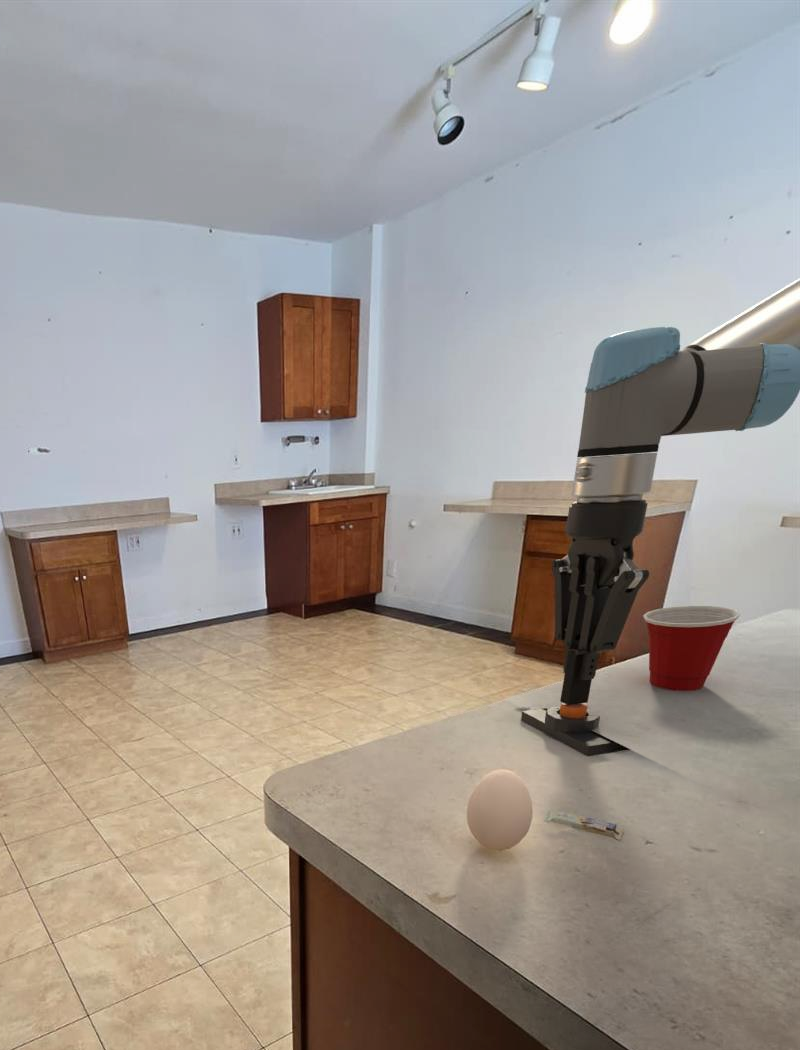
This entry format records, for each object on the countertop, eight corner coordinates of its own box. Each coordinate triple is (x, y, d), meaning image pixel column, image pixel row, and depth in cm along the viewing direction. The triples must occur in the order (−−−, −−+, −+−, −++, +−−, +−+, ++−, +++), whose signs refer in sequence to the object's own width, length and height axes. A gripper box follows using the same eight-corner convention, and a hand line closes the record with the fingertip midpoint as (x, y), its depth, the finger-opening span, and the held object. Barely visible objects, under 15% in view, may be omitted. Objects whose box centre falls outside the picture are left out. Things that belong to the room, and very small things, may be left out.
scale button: (574, 710, 82) (576, 699, 82) (591, 718, 79) (593, 706, 79) (553, 713, 82) (555, 702, 81) (569, 721, 79) (571, 709, 78)
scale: (636, 704, 90) (641, 683, 89) (718, 736, 78) (724, 713, 77) (517, 721, 87) (520, 700, 86) (583, 757, 75) (587, 734, 74)
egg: (538, 860, 57) (551, 781, 54) (479, 866, 57) (488, 787, 54) (509, 829, 62) (519, 755, 59) (454, 835, 62) (461, 761, 59)
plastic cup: (617, 683, 98) (632, 605, 93) (696, 683, 96) (716, 602, 91) (644, 707, 88) (662, 621, 84) (733, 707, 86) (757, 618, 81)
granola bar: (542, 825, 63) (543, 815, 63) (548, 815, 65) (550, 806, 64) (619, 844, 59) (621, 834, 59) (624, 833, 61) (626, 823, 60)
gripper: (540, 500, 75) (515, 690, 85) (622, 503, 64) (583, 723, 73) (596, 495, 76) (565, 684, 86) (688, 497, 65) (640, 715, 75)
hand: (573, 701), depth 80 cm, fingers closed
